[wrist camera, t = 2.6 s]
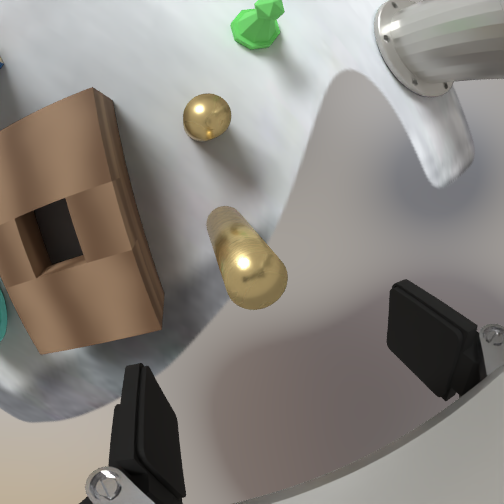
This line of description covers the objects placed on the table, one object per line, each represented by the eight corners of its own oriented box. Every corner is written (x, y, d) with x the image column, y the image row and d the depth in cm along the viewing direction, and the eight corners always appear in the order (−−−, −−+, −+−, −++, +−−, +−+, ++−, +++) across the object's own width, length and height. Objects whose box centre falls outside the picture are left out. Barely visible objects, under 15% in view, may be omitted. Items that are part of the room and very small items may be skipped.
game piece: (248, 58, 22) (268, 35, 16) (220, 23, 20) (231, -7, 14) (287, 37, 21) (313, 14, 16) (259, 4, 20) (279, -26, 14)
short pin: (217, 101, 22) (226, 89, 18) (225, 136, 24) (235, 133, 19) (180, 109, 22) (179, 99, 17) (187, 145, 23) (188, 143, 19)
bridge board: (112, 100, 20) (92, 87, 15) (164, 293, 27) (161, 329, 21) (2, 149, 19) (-35, 153, 13) (59, 319, 25) (40, 354, 20)
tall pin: (238, 202, 26) (282, 245, 15) (245, 236, 27) (291, 299, 16) (202, 211, 25) (219, 261, 14) (211, 245, 26) (233, 316, 15)
